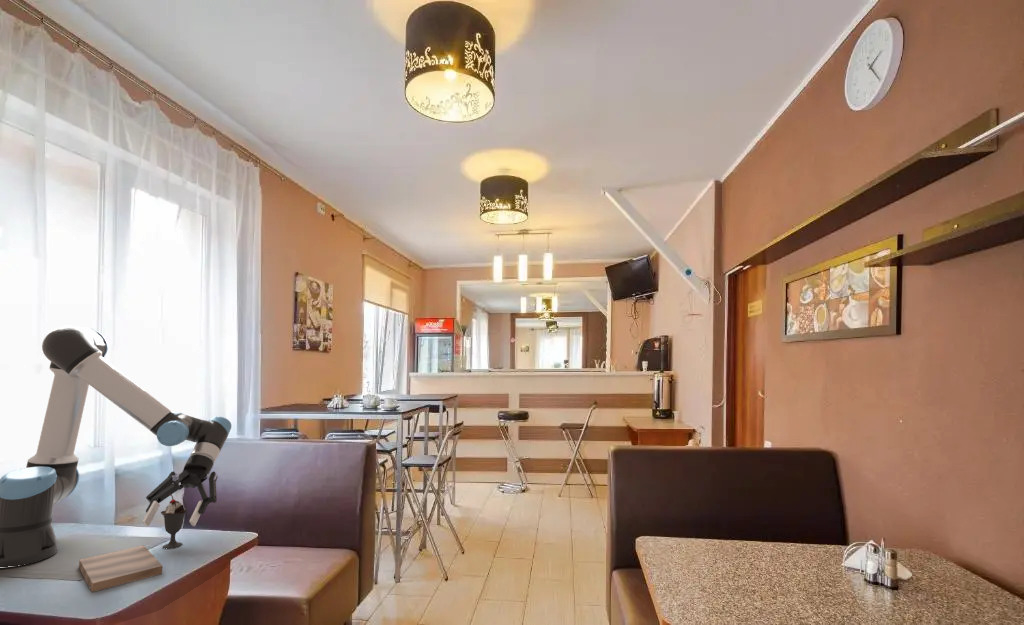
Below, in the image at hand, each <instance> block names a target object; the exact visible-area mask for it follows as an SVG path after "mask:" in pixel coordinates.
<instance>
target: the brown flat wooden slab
mask: <svg viewBox="0 0 1024 625" xmlns="http://www.w3.org/2000/svg"><path fill="white" fill-rule="evenodd" d="M163 567H164V566H163V564H162V563H161V562H160V561H159V560H158V559H157V558H156V557H155V555H154V554H152V553H151V551H150V550H149V549H148V548H147V547H146V546H145V545H140V546H139V545H138V546H135V547H130V548H126V549H122V550H121V549H120V550H117V551H113V552H112V551H111V552H107V553H104V554H98V555H95V556H94V555H93V556H90V557H86V558H82V559H79V561H78V569H79V571H80V572H81V574H82V576H83V578H84V581H85V582H86V583H87V585H88V586H87V587H90V588H89V589H90V591H91V592H92V593H94V592H93V591H95V592H98V591H101V590H105V589H109V588H114V587H117V586H121V585H124V584H125V585H126V584H128V583H132V582H133V583H134V582H135V581H136V582H137V581H140V580H143V579H147V578H151V576H152V577H155V576H158V575H162V574H163Z"/></svg>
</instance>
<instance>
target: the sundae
mask: <svg viewBox="0 0 1024 625" xmlns="http://www.w3.org/2000/svg"><path fill="white" fill-rule="evenodd" d="M169 495H170V496H171V500H170V501H169V504H168V505H166V507H165V510H162V511H161V512H160V514H161V515H162V516H163V518H164V519H163V520H164V529H165V532H167V533H168V534H169V536H170V539H169V542H168V543H165V544H164V545H163V546H162V547H163V548H165V549H164V550H171V548H173V549H177V548H180V547H182V546H183V543H182V542H179V541H177V540H176V534H177V533H179V531H181V529H182V527H183V524H184V519H185V514H186V512H187V511H188V510H189V508H185V506H184V504H182V503H181V501H179V500H176V499H174V496H173V494H172V495H171V494H169ZM170 496H169V497H170ZM179 546H180V547H179ZM176 547H177V548H176ZM163 548H162V549H163ZM166 548H167V549H166Z"/></svg>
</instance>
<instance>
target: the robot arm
mask: <svg viewBox="0 0 1024 625" xmlns="http://www.w3.org/2000/svg"><path fill="white" fill-rule="evenodd" d="M41 349H42V353H43V355H44V356H45V358H47V359H48V360H49V361H50V365H49V370H50V371H51V372H52V373H53V374H54V376H53V381H52V385H51V388H50V389H51V390H50V393H49V398H48V403H47V407H46V412H45V415H44V419H43V424H42V427H41V428H42V429H41V432H40V435H39V436H40V437H39V441H38V444H37V450H36V453H35V454H34V455H33V456H31V457H29V458H28V459H27V462H26V467H25V468H23V467H22V468H20V469H18V470H17V469H16V470H12V471H10V472H7V473H6V474H4V475H2V476H1V477H0V567H8V566H18V565H23V566H25V565H24V564H27V565H30V564H29V563H31V564H33V562H35V563H38V562H41V561H44V560H46V559H48V558H51V557H53V556H54V555H56V554H57V553H58V548H59V543H58V542H59V541H58V539H57V537H56V533H55V531H54V528H53V525H52V524H53V513H54V505H57V504H58V503H59V502H61V501H63V500H65V499H66V498H67V497H69V496H70V495H71V494H72V493H73V492H74V491H75V489H76V488H77V485H78V483H79V481H80V472H79V470H78V463H79V457H77V455H76V454H75V450H76V444H77V439H78V435H79V432H80V426H81V422H82V418H83V413H84V410H85V408H84V407H85V404H86V399H87V396H88V391H89V387H92V388H93V389H94V390H96V391H97V392H98V393H100V394H101V395H102V396H103V397H105V398H106V399H108V400H109V401H111V402H112V403H113V404H114V405H115V406H117V407H118V408H119V409H120V410H122V411H124V412H125V413H126V414H127V415H129V416H130V417H131V418H133V419H134V420H135V421H136V422H138V423H139V424H140V425H141V426H143V427H144V428H146V429H147V430H149V431H150V432H151V433H152V434H153V435H154V436H156V439H157V441H158V442H159V443H160V445H163V446H165V447H175V446H177V445H180V444H181V443H184V442H185V441H189V442H192V443H196V444H195V446H194V448H193V449H192V451H191V453H190V455H189V457H188V458H187V461H186V463H185V464H184V466H183V470H182V471H181V472H180V473H176V472H175V471H173V470H172V471H170V473H169V474H168V476H167V477H166V478H165V479H164V480H163V481H162V482H161V483H160V484H158V486H157V487H155V488H154V489H153V490H152V491H151V492H150V493H148V494H147V495H146V497H145V499H146V500H147V501H148V503H149V504H148V506H147V508H146V510H145V513H146V514H145V515H144V517H143V520H142V521H141V522H142V523H143V524H144V526H145V527H149V526H150V525H151V523H152V521H153V519H154V517H155V516H156V513H157V512H158V510H159V508H160V506H161V505H160V503H162V502H163V501H164V500H166V499H167V498H169V497H170V495H169V494H171V495H172V496H173V494H175V493H176V492H177V491H180V490H182V489H186V488H187V489H188V488H191V489H195V488H197V489H198V492H199V495H200V497H201V500H198V503H197V505H196V506H195V509H194V510H193V513H192V514H191V517H190V518H189V521H188V522H189V523H190V525H191V527H196V525H197V523H198V521H199V518H200V516H201V515H203V514H204V513H206V509H207V508H208V506H209V504H211V503H213V504H215V503H216V502H217V501H218V498H217V497H218V496H217V480H218V477H219V476H218V474H217V473H216V471H212V468H213V467H214V464H215V462H216V461H217V458H218V456H219V455H220V452H221V450H222V448H223V447H224V445H225V443H226V441H227V438H228V436H229V434H230V432H231V429H232V423H231V421H230V420H229V419H227V418H226V417H223V416H217V415H216V416H213V417H211V418H210V419H209V420H205V419H201V418H197V417H195V416H190V415H187V414H184V413H182V412H176V411H171V410H170V409H169V408H168V407H166V406H165V405H164V404H163V403H161V402H160V401H159V400H157V398H155V397H154V396H153V395H152V394H150V393H149V392H147V391H146V390H145V389H143V388H142V387H141V386H140V385H138V384H137V383H135V382H134V380H132V379H131V378H130V377H128V376H127V375H126V374H124V373H123V372H122V371H121V370H119V369H118V368H117V367H115V366H114V365H113V364H111V362H109V361H108V360H106V359H105V356H106V354H107V352H108V350H109V344H108V341H107V338H106V337H105V336H104V335H103V334H102V333H101V332H99V331H98V330H96V329H93V328H89V327H83V326H82V327H80V326H74V325H63V326H60V327H59V326H58V327H57V328H54V329H52V330H51V331H50V332H48V333H47V334H46V335H45V337H44V338H43V341H42V343H41ZM89 385H90V386H89ZM211 471H212V472H211ZM206 480H208V488H209V489H208V490H209V491H208V492H209V496H208V494H207V492H206V490H205V486H204V484H203V483H204V482H205V481H206ZM43 559H44V560H43ZM40 560H41V561H40ZM37 561H38V562H37ZM18 567H19V566H18Z"/></svg>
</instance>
